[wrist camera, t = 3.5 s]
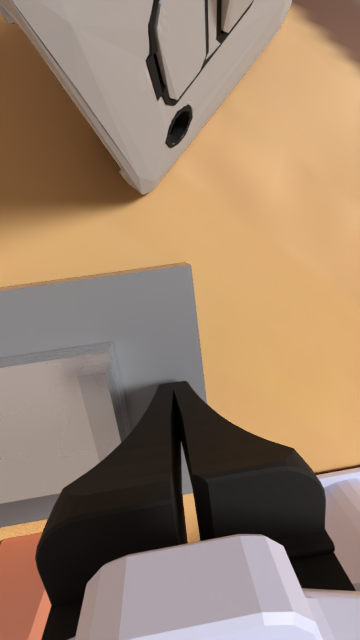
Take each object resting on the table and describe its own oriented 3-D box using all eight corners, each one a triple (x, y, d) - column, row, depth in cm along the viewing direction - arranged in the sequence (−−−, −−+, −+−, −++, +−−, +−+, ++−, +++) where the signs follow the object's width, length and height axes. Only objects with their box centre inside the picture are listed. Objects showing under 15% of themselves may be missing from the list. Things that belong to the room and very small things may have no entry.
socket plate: (184, 262, 13) (190, 265, 11) (207, 453, 16) (216, 488, 14) (-187, 312, 12) (-270, 328, 10) (-86, 504, 16) (-130, 550, 13)
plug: (65, 527, 17) (5, 707, 10) (80, 570, 18) (34, 759, 11) (2, 538, 17) (-101, 730, 10) (20, 581, 18) (-62, 780, 11)
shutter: (113, 341, 11) (102, 362, 9) (138, 459, 13) (134, 500, 11) (-37, 363, 11) (-84, 390, 9) (8, 481, 13) (-21, 527, 11)
